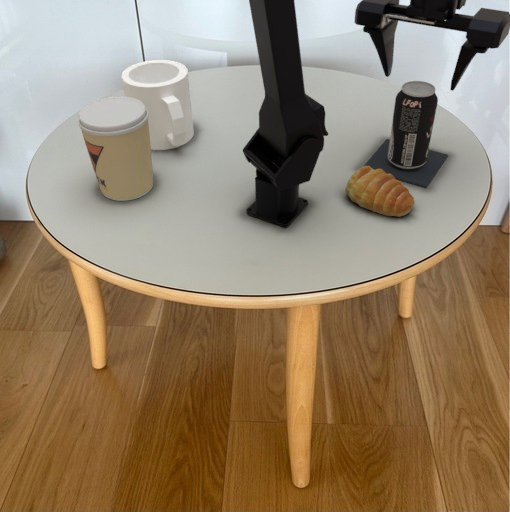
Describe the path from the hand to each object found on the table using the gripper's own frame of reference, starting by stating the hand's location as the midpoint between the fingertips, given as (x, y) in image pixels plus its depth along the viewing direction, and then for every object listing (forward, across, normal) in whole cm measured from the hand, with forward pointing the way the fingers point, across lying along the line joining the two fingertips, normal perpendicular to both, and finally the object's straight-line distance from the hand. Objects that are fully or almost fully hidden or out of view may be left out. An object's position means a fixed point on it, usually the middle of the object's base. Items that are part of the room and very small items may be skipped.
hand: (419, 82), depth 79 cm
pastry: (+13, 0, +11) cm, 17 cm away
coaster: (+13, 0, 0) cm, 13 cm away
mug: (+13, +37, +12) cm, 41 cm away
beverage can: (+13, 0, 0) cm, 13 cm away
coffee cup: (+13, +33, +26) cm, 44 cm away
